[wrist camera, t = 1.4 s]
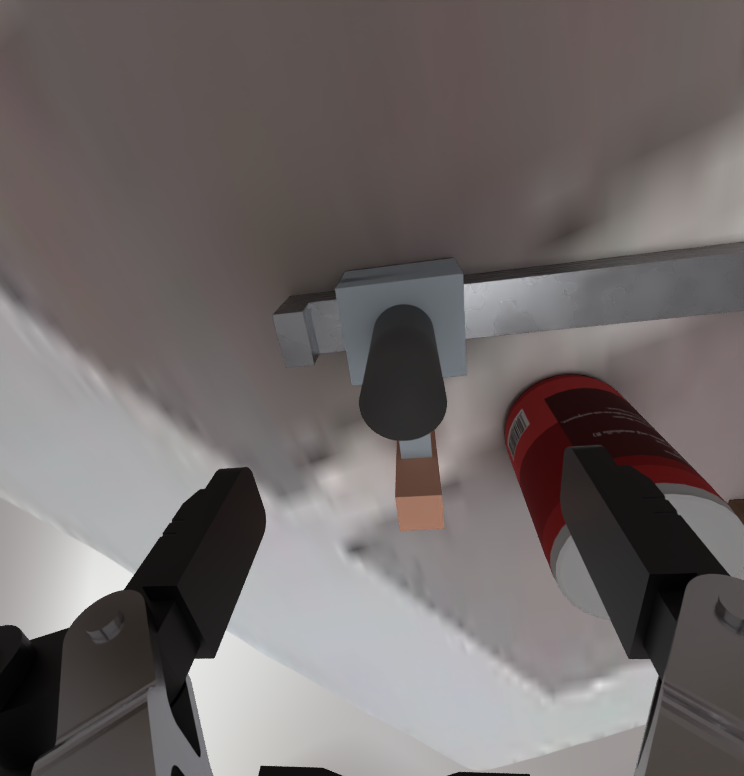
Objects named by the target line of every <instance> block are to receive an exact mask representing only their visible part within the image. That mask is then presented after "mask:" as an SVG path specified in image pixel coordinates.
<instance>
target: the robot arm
mask: <svg viewBox="0 0 744 776" xmlns="http://www.w3.org/2000/svg"><path fill="white" fill-rule="evenodd" d="M560 504H561V510H562V514H563V518H564V521H565V523H566V525H567V528H568V530H569V532H570V534H571V536H572V538H573V540H574V543H575V545H576V547H577V549H578V551H579V553H580V555H581V558H582V560H583V562H584V564H585V566H586V568H587V570H588V573H589V575H590V577H591V579H592V581H593V583H594V585H595V588H596V590H597V592H598V594H599V596H600V598H601V600H602V603H603V605H604V607H605V609H606V611H607V613H608V616H609V618H610V620H611V622H612V624H613V626H614V628H615V631H616V633H617V635H618V637H619V639H620V641H621V643H622V646H623V648H624V650H625V652H626V654H627V656H628V658H629V659H651V661H652V663H653V665H654V667H655V669H656V671H657V673H658V675H659V676H658V680H657V683H656V687H655V691H654V695H653V699H652V703H651V707H650V711H649V715H648V719H647V723H646V727H645V732H644V736H643V740H642V744H641V748H640V752H639V756H638V760H637V764H636V768H635V772H634V776H744V580H741V579H738V578H735V577H731V576H730V575H729V573H728V572H727V571H726V570H725V569H724V567H723V566H722V565H721V564H720V563H719V561H718V560H717V559H716V558H715V556H714V555H713V554H712V553H711V552H710V550H709V549H708V548H707V547H706V545H705V544H704V543H703V542H702V541H701V539H700V538H699V537H698V536H697V534H696V533H695V532H694V531H693V530H692V528H691V527H690V526H689V525H688V524H687V522H686V521H685V520H684V519H683V517H682V516H681V515H678V513H677V510H676V509H675V508H674V506H673V505H672V504H671V503H670V502H669V500H666V499H665V495H664V494H663V493H662V492H661V491H660V489H659V488H658V487H657V486H656V485H655V483H654V482H653V481H652V480H651V479H650V478H649V477H647V476H646V475H644V474H643V473H641V472H640V471H638V470H636V469H635V468H633V467H632V466H630V465H617V464H616V462H615V461H614V460H613V458H612V457H611V456H610V454H609V453H608V452H607V450H606V449H605V448H604V447H603V446H602V445H589V446H574V447H567V448H566V449H565V452H564V459H563V470H562V481H561V492H560ZM265 527H266V514H265V509H264V506H263V503H262V500H261V497H260V494H259V491H258V488H257V485H256V482H255V479H254V476H253V473H252V471H251V470H250V469H249V468H248V467H242V468H227V469H219V470H218V471H216V473H215V474H214V476H213V477H212V479H211V480H210V482H209V484H208V485H207V487H206V488H205V489H200V490H199V491H197V492H196V493H195V494H194V495H193V496H191V497H190V498H189V499H188V500H187V501H186V502H184V503H183V504H182V506H181V507H180V509H179V510H178V512H177V513H176V515H175V516H174V518H173V519H172V523H169V525H168V526H167V528H166V529H165V531H164V532H163V536H162V537H160V538H159V539H158V541H157V542H156V544H155V545H154V547H153V548H152V550H151V551H150V553H149V554H148V555H147V557H146V558H145V560H144V561H143V563H142V564H141V566H140V567H139V569H138V570H137V572H136V573H135V574H134V576H133V577H132V579H131V580H130V582H129V583H128V585H127V586H126V588H125V589H124V590H122V591H117V592H114V593H111V594H109V595H107V596H105V597H103V598H101V599H99V600H97V601H96V602H95V603H93V604H92V605H91V606H89V607H88V608H87V609H85V610H84V611H83V612H82V613H81V614H80V615H79V616H78V617H77V618H76V620H75V621H74V622H73V623H72V625H71V626H70V628H67V629H64V630H61V631H58V632H55V633H51V634H48V635H45V636H42V637H38V638H35V639H32V640H29V639H28V638H27V637H26V636H25V635H24V634H23V632H22V631H21V630H20V629H19V628H18V627H16V626H13V625H5V626H0V776H213V773H212V770H211V768H210V763H209V759H208V755H207V750H206V746H205V741H204V737H203V732H202V728H201V724H200V719H199V714H198V710H197V705H196V701H195V696H194V691H193V687H192V682H191V679H190V677H189V675H188V672H189V670H190V667H191V665H192V663H193V661H194V659H195V658H196V659H200V658H201V659H202V658H215V656H216V653H217V651H218V648H219V646H220V643H221V640H222V638H223V635H224V633H225V631H226V628H227V625H228V623H229V620H230V618H231V615H232V613H233V610H234V608H235V605H236V603H237V600H238V598H239V595H240V593H241V590H242V588H243V585H244V583H245V580H246V578H247V575H248V573H249V570H250V568H251V565H252V563H253V560H254V558H255V555H256V553H257V550H258V548H259V545H260V543H261V540H262V538H263V535H264V532H265ZM258 776H342V775H339V774H337V773H334V772H332V771H329V770H327V769H324V768H314V767H311V768H310V767H282V766H280V767H279V766H261V767H260V771H259V775H258ZM448 776H530V774H509V773H506V774H505V773H474V772H458V773H455V774H452V775H448Z"/></svg>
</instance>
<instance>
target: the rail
mask: <svg viewBox="0 0 744 776" xmlns="http://www.w3.org/2000/svg"><path fill="white" fill-rule="evenodd" d="M463 282H464V312H465V339H469V338H479V337H489V336H499V335H509V334H519V333H529V332H539V331H548V330H558V329H568V328H578V327H588V326H598V325H608V324H618V323H628V322H638V321H648V320H658V319H668V318H678V317H687V316H697V315H707V314H717V313H727V312H737V311H744V242H739V243H730V244H722V245H714V246H705V247H697V248H689V249H680V250H672V251H664V252H655V253H647V254H639V255H630V256H622V257H614V258H605V259H597V260H589V261H580V262H572V263H564V264H556V265H547V266H539V267H531V268H522V269H514V270H506V271H497V272H489V273H481V274H472V275H464V276H463ZM272 316H273V320H274V324H275V328H276V332H277V336H278V339H279V343H280V347H281V351H282V355H283V359H284V363H285V367H286V368H289V367H299V366H310V365H314V364H315V362H316V360H317V358H318V356H319V354H320V353H330V352H340V351H346V349H345V343H344V337H343V332H342V326H341V321H340V315H339V309H338V304H337V298H336V293H335V291H331V292H322V293H314V294H306V295H297V296H290V297H289V298H288V299H287V300H286V301H285V302H284V303H283V304H282V305H281V306H280V307H279V308H278V309H277V311H276V312H275V313H274V314H273V315H272Z"/></svg>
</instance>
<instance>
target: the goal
mask: <svg viewBox="0 0 744 776" xmlns="http://www.w3.org/2000/svg"><path fill="white" fill-rule="evenodd" d="M729 506H730V507H731V509H732V510H733V512H734V513H735V515H736V516H737V517H738V518H739V519H740V521H741V522H742V524H743V525H744V500H730V502H729Z"/></svg>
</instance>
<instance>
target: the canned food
mask: <svg viewBox="0 0 744 776" xmlns="http://www.w3.org/2000/svg"><path fill="white" fill-rule="evenodd" d="M505 444H506V447H507V451H508V454H509V457H510V460H511V462H512V465H513V468H514V471H515V473H516V476H517V479H518V482H519V485H520V487H521V490H522V493H523V496H524V498H525V501H526V504H527V507H528V509H529V512H530V515H531V518H532V521H533V523H534V526H535V529H536V532H537V534H538V537H539V540H540V543H541V546H542V548H543V551H544V554H545V557H546V559H547V561H548V563H549V566H550V569H551V572H552V574H553V577H554V578H555V580H556V582H557V584H558V587H559V588H560V590H561V592H562V593H563V595H564V596H565V597H566V598H567V599H568V600H569V601H570V602H571V603H572V604H573V605H574V606H575V607H577V608H579V609H580V610H582V611H583V612H585V613H588V614H590V615H593V616H595V617H598V618H602V619H607V620H610V618H609V616H608V613H607V611H606V609H605V607H604V605H603V603H602V600H601V598H600V596H599V594H598V592H597V590H596V588H595V585H594V583H593V581H592V579H591V577H590V575H589V573H588V570H587V568H586V566H585V564H584V562H583V560H582V558H581V555H580V553H579V551H578V549H577V547H576V545H575V543H574V540H573V538H572V536H571V534H570V532H569V530H568V528H567V525H566V523H565V521H564V518H563V514H562V510H561V504H560V492H561V481H562V470H563V459H564V452H565V449H566V448H567V447H574V446H589V445H602V446H603V447H604V448H605V449H606V450H607V452H608V453H609V454H610V456H611V457H612V458H613V460H614V461H615V462H616V464H617V465H630V466H632V467H633V468H635V469H636V470H638V471H640V472H641V473H643V474H644V475H646V476H647V477H649V478H650V479H651V480H652V481H653V482H654V483H655V485H656V486H657V487H658V488H659V489H660V491H661V492H662V493H663V494H664V495H665V499H666V500H669V502H670V503H671V504H672V505H673V506H674V508H675V509H676V510H677V513H678V515H681V516H682V517H683V519H684V520H685V521H686V522H687V524H688V525H689V526H690V527H691V528H692V530H693V531H694V532H695V533H696V534H697V536H698V537H699V538H700V539H701V541H702V542H703V543H704V544H705V545H706V547H707V548H708V549H709V550H710V552H711V553H712V554H713V555H714V556H715V558H716V559H717V560H718V561H719V563H720V564H721V565H722V566H723V567H724V569H725V570H726V571H727V572H728V573H729V575H730V576H731V577H735V578H737V577H738V575H739V574H740V572H741V571H742V569H743V567H744V525H743V524H742V522H741V521H740V519H739V518H738V517H737V516H736V515H735V513H734V512H733V510H732V509H731V507H730V506H729V505H728V504H727V503H726V502H725V501H724V500H723V499H722V498H721V497H720V496H719V495H718V494H717V493H716V492H715V490H714V489H713V488H712V487H711V486H710V485H709V484H708V483H707V482H706V481H705V480H704V479H703V478H702V477H701V476H700V475H699V473H698V472H697V471H696V470H695V469H694V468H693V467H692V466H691V465H690V464H689V463H688V462H687V461H686V460H685V459H684V458H683V457H682V456H681V455H680V454H679V453H678V452H677V451H676V450H675V449H674V448H673V447H672V446H671V445H670V444H669V443H668V442H667V441H666V440H665V439H664V438H663V437H662V436H661V435H660V434H659V433H658V432H657V431H656V430H655V429H654V428H653V427H652V426H651V425H650V424H649V423H648V422H647V421H646V420H645V419H644V418H643V417H642V416H641V415H640V414H639V413H638V412H637V411H636V410H635V409H634V408H633V407H632V406H631V405H630V404H629V403H628V402H627V401H626V400H625V399H624V398H623V397H622V396H621V395H620V394H619V393H618V392H617V391H616V390H615V389H614V388H612V387H611V386H610V385H608V384H606V383H604V382H602V381H600V380H597V379H594V378H591V377H587V376H583V375H572V374H568V375H559V376H555V377H551V378H548V379H545V380H543V381H541V382H539V383H537V384H535V385H533V386H532V387H531V388H529V389H528V390H526V391H525V392H524V393H523V394H522V395H521V396H520V397H519V398H518V399H517V401H516V402H515V404H514V405H513V406H512V408H511V410H510V413H509V415H508V418H507V423H506V428H505Z"/></svg>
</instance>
